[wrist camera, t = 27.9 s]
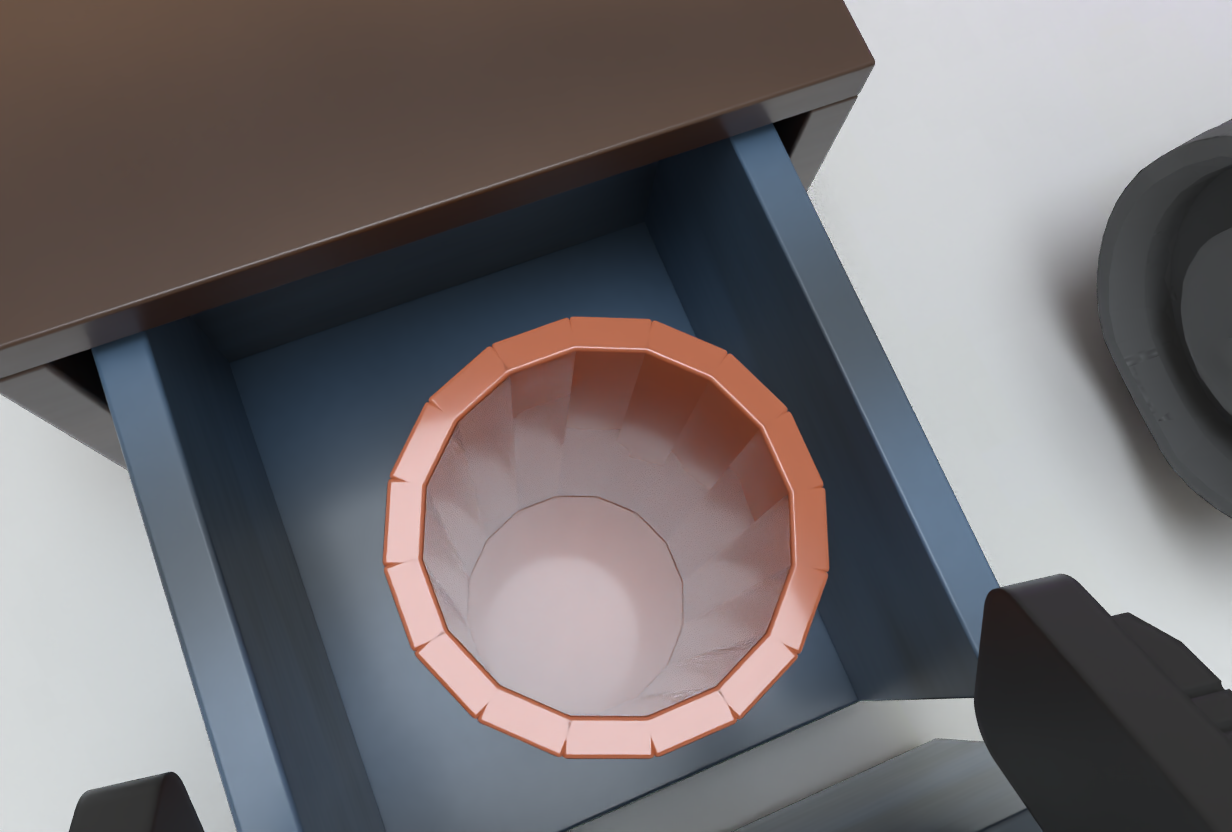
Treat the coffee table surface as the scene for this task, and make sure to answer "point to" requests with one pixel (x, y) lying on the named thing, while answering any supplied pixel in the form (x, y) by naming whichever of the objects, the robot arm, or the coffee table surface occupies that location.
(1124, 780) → the robot arm
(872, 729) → the coffee table surface
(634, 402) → the tumbler
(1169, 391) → the bluetooth speaker
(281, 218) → the cabinet
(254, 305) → the blue pull-out drawer
